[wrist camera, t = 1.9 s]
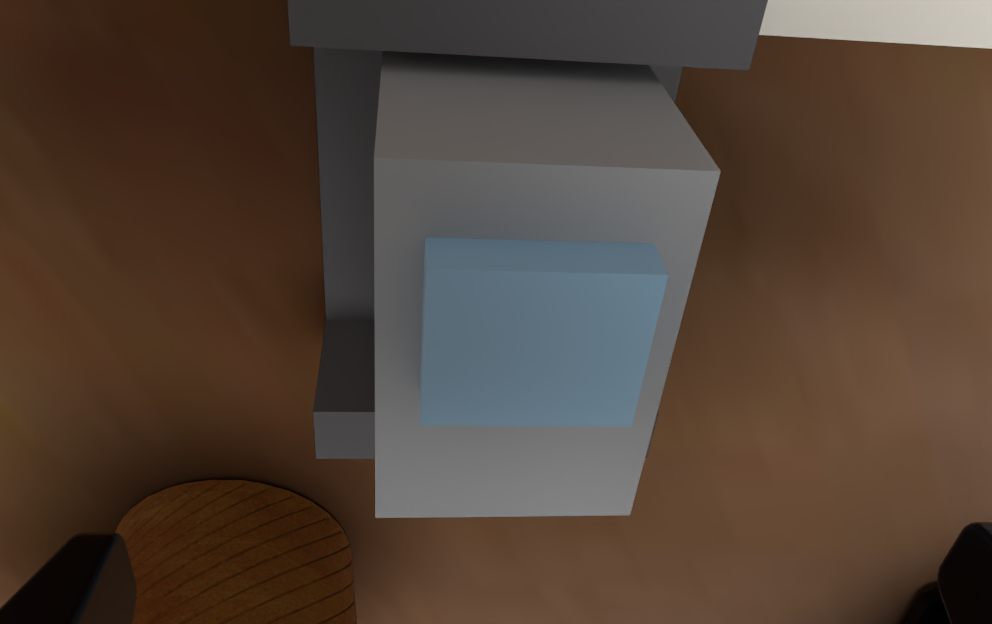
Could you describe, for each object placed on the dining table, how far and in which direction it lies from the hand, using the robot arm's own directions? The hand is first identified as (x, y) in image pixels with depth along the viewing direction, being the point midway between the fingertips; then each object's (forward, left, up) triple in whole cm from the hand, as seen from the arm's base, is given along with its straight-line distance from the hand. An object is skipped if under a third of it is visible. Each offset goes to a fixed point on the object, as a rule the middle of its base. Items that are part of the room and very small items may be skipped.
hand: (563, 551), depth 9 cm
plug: (0, 0, -8) cm, 9 cm away
